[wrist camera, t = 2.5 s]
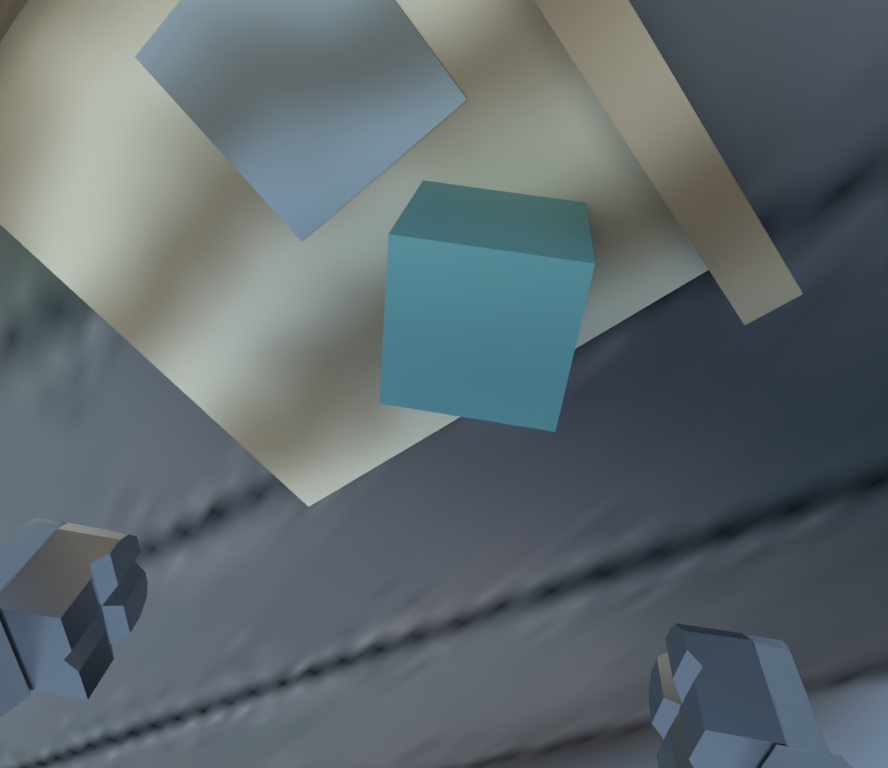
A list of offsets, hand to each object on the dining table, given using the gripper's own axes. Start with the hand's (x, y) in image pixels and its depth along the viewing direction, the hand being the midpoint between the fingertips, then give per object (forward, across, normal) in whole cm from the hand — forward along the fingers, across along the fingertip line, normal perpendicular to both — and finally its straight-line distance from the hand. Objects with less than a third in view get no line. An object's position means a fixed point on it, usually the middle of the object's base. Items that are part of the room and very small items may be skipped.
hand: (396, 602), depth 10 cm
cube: (+13, -1, 0) cm, 13 cm away
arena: (+15, +6, -2) cm, 16 cm away
